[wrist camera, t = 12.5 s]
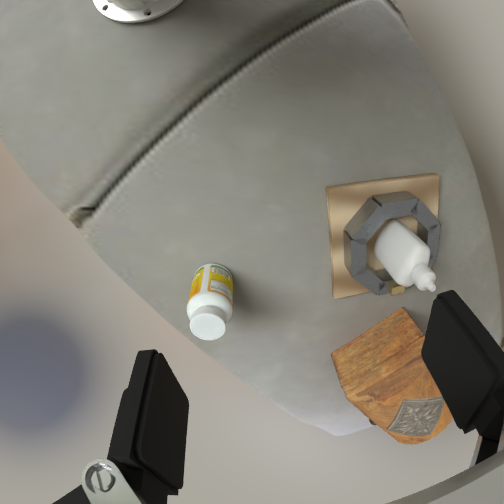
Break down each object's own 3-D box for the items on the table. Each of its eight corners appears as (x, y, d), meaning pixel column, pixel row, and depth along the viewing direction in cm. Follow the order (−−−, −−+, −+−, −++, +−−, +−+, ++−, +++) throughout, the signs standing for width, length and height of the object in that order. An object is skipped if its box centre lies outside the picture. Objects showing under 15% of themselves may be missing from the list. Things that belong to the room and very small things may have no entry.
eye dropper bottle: (409, 236, 38) (457, 284, 28) (378, 261, 40) (418, 316, 29) (396, 213, 37) (447, 259, 26) (363, 239, 38) (405, 293, 28)
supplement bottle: (228, 258, 40) (227, 305, 32) (236, 292, 43) (237, 341, 34) (188, 266, 40) (177, 312, 32) (198, 298, 43) (191, 347, 34)
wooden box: (323, 354, 50) (343, 421, 38) (406, 301, 46) (445, 361, 33) (381, 410, 62) (398, 457, 50) (440, 374, 58) (464, 419, 45)
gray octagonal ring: (341, 199, 36) (352, 212, 32) (430, 187, 35) (447, 197, 32) (344, 288, 42) (353, 306, 38) (423, 270, 41) (436, 285, 38)
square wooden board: (325, 186, 36) (328, 189, 35) (434, 173, 35) (439, 175, 34) (332, 294, 44) (334, 299, 42) (426, 272, 43) (430, 276, 42)
